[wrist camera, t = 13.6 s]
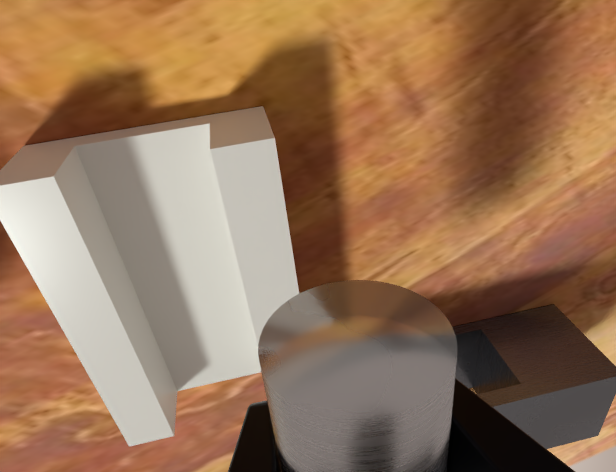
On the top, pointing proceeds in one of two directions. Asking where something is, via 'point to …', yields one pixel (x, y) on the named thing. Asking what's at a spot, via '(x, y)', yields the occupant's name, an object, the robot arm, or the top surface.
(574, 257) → the top surface
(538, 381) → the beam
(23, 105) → the top surface
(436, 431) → the axle
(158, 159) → the cradle
